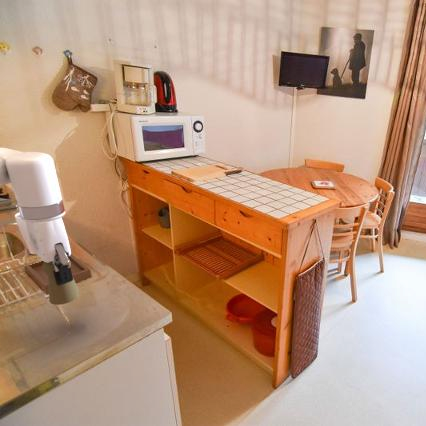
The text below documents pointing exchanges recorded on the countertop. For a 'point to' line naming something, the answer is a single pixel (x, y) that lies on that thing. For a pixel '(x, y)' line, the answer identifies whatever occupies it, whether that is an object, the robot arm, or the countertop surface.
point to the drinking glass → (24, 232)
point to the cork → (60, 287)
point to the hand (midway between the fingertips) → (59, 277)
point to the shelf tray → (41, 278)
